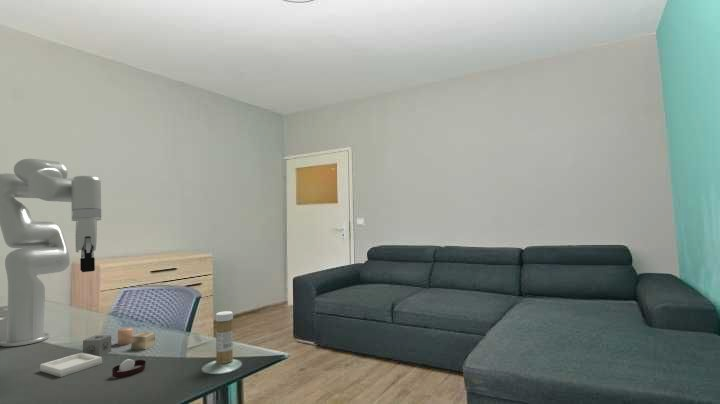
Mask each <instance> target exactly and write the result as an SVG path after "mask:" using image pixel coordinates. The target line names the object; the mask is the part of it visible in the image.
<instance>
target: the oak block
mask: <svg viewBox="0 0 720 404" xmlns="http://www.w3.org/2000/svg"><path fill="white" fill-rule="evenodd" d="M155 343H156V333H154V332H140V333H137V334H133V336H132V343H131V346H130V347H131V350H141V349H146V350H148V349H150V348H152V346H153V347H154V345H155V346H156V344H155ZM147 348H148V349H147Z"/></svg>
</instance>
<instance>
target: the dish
mask: <svg viewBox="0 0 720 404" xmlns="http://www.w3.org/2000/svg"><path fill="white" fill-rule="evenodd" d="M102 364H103V357H102V356H101V357H99V356H95V355H91V354H87V353H83V352H78V353H76V354H71V355H68V356H65V357H62V358H61V357H60V358H58V359H55V360H51V361H47V362H44V363H40V370H39V371H40V372H42V373H44V374H45V373H46V374H49V375H51V376H52V375H53V376H55V377H58V378H62V377H63V378H64V377H65V376H68V375H71V374H74V373H77V372H81V371H84V370H86V369H90V368H94V367H95V366H99V365H102Z"/></svg>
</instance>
